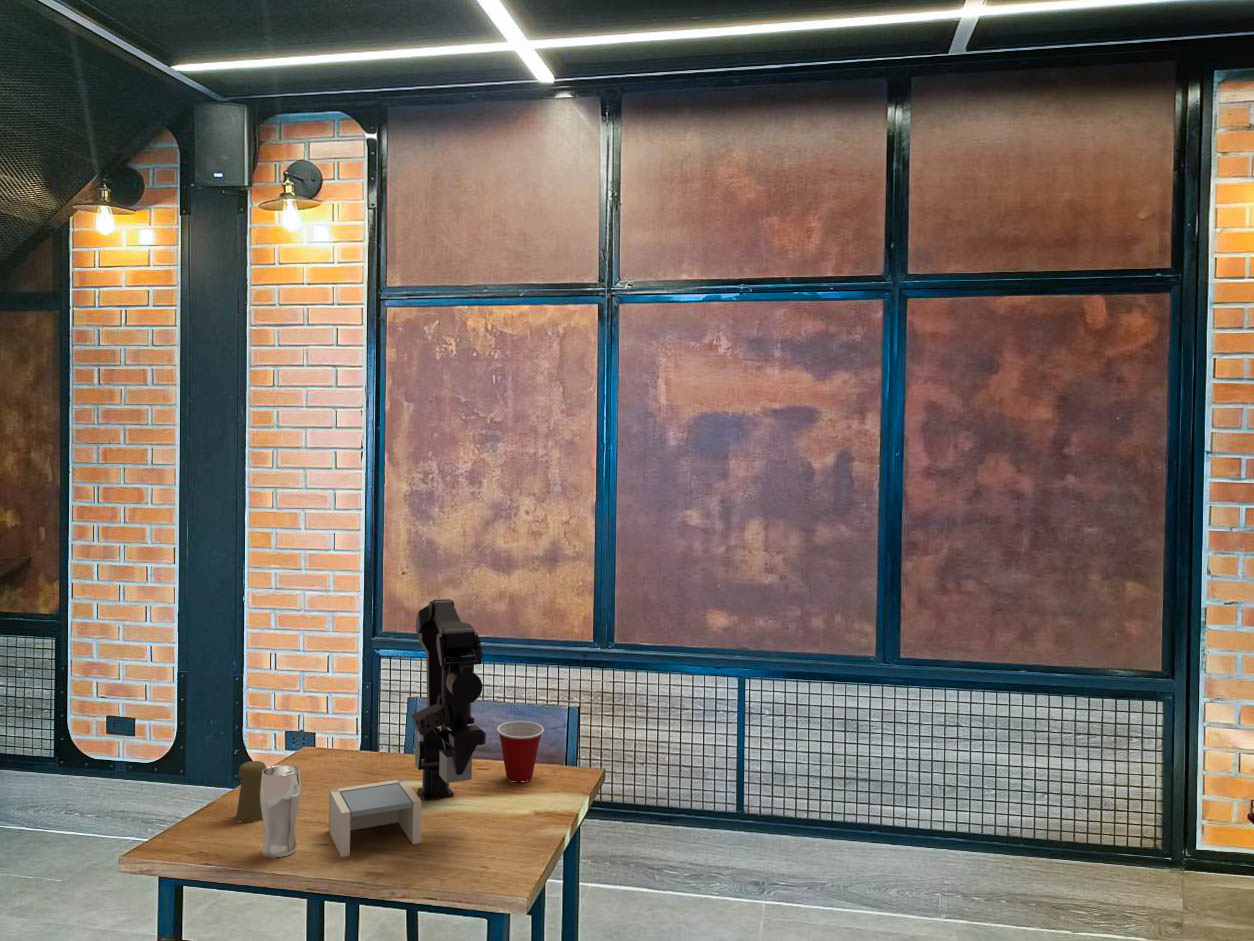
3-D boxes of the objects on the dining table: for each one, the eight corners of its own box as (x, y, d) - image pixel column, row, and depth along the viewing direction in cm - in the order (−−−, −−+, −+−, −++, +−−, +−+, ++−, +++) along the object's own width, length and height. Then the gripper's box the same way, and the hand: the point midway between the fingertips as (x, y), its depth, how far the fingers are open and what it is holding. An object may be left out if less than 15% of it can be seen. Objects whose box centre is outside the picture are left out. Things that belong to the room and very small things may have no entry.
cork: (274, 814, 183) (275, 760, 183) (250, 824, 177) (251, 769, 178) (252, 809, 185) (253, 756, 186) (228, 819, 180) (229, 764, 180)
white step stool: (328, 830, 175) (329, 789, 175) (403, 818, 182) (404, 778, 182) (341, 857, 163) (341, 813, 163) (420, 842, 170) (421, 800, 170)
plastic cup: (506, 790, 199) (507, 736, 199) (489, 775, 208) (489, 724, 208) (551, 782, 204) (552, 729, 204) (531, 768, 214) (532, 718, 214)
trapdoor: (340, 796, 174) (340, 791, 174) (397, 788, 179) (397, 783, 179) (351, 817, 164) (352, 811, 164) (411, 807, 169) (411, 802, 169)
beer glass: (275, 862, 160) (276, 778, 160) (251, 853, 164) (252, 771, 164) (307, 849, 166) (309, 768, 166) (283, 840, 170) (284, 761, 170)
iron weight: (439, 775, 177) (439, 750, 177) (463, 771, 179) (464, 746, 179) (446, 783, 172) (446, 757, 172) (471, 779, 174) (472, 753, 174)
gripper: (403, 684, 180) (402, 762, 180) (429, 706, 164) (427, 792, 163) (457, 679, 185) (456, 754, 185) (487, 700, 169) (486, 783, 169)
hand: (455, 770), depth 176 cm, fingers closed on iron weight, 5 cm apart
